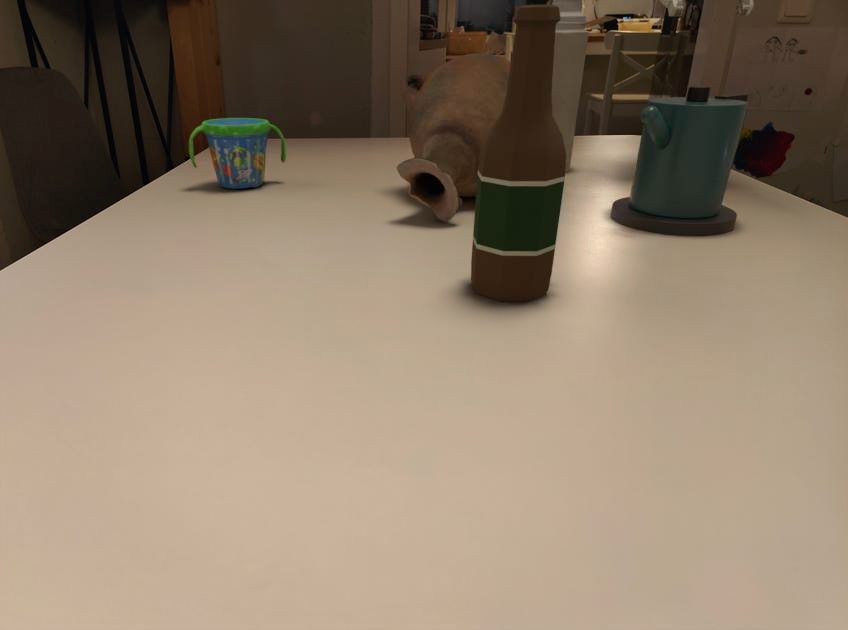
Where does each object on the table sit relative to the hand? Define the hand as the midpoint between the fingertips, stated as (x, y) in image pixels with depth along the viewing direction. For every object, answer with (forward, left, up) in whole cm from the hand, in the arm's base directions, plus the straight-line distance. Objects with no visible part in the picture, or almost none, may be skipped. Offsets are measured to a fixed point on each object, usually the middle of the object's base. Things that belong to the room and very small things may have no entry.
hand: (710, 12), depth 88 cm
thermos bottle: (+18, -13, -25) cm, 33 cm away
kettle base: (+6, +21, -25) cm, 33 cm away
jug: (+34, +13, -25) cm, 44 cm away
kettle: (+6, +21, -23) cm, 32 cm away
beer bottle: (+29, +49, -25) cm, 62 cm away
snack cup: (+70, +6, -25) cm, 75 cm away
